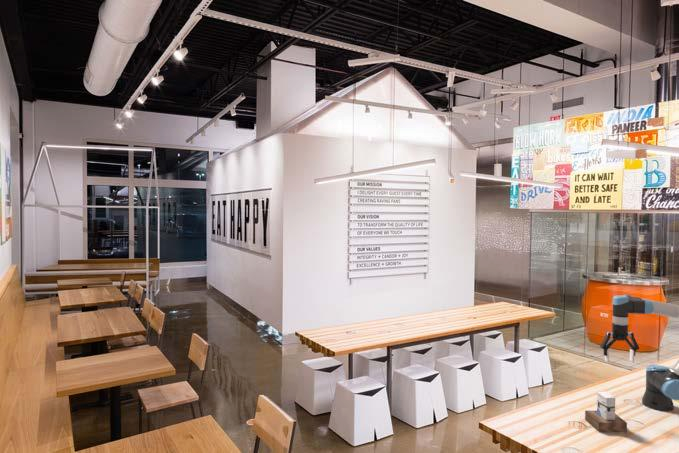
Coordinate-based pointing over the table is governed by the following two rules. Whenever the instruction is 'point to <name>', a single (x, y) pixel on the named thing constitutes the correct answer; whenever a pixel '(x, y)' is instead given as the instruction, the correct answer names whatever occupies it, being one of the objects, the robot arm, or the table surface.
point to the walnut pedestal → (605, 422)
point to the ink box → (606, 405)
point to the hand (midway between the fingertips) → (619, 361)
